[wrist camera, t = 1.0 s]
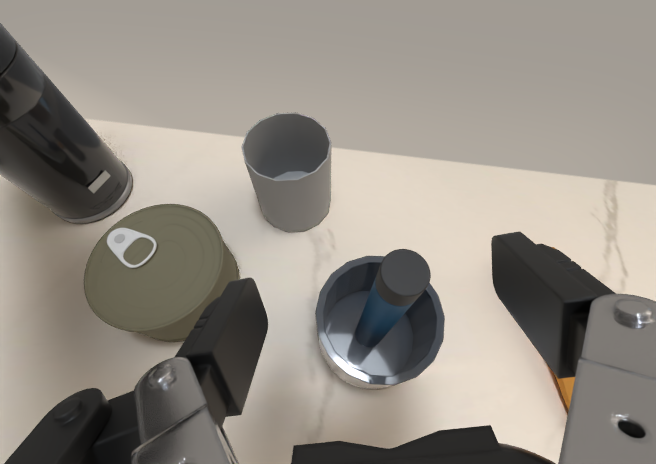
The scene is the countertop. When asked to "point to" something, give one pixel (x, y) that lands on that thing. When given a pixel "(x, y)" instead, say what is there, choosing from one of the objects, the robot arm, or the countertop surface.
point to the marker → (392, 294)
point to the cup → (290, 169)
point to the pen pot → (397, 345)
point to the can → (158, 271)
